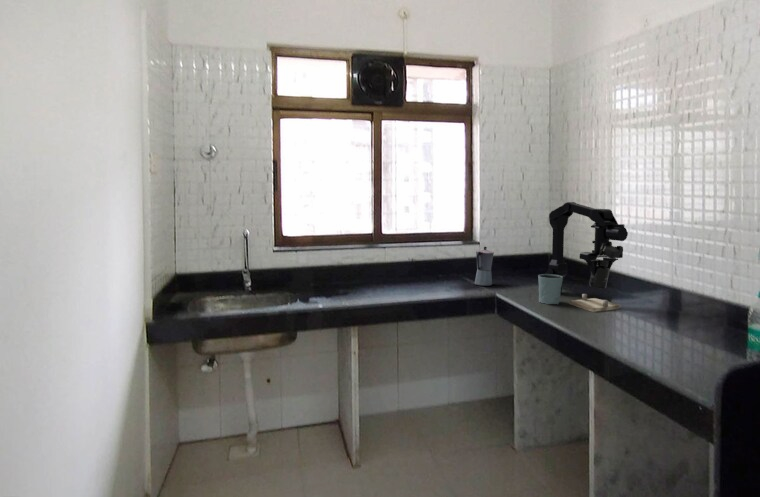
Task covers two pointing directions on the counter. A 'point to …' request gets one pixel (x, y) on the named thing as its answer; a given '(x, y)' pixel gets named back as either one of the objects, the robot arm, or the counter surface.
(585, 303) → the locating pad
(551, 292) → the teal tapered cup
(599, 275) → the supplement bottle
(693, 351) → the counter surface
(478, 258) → the moka pot
